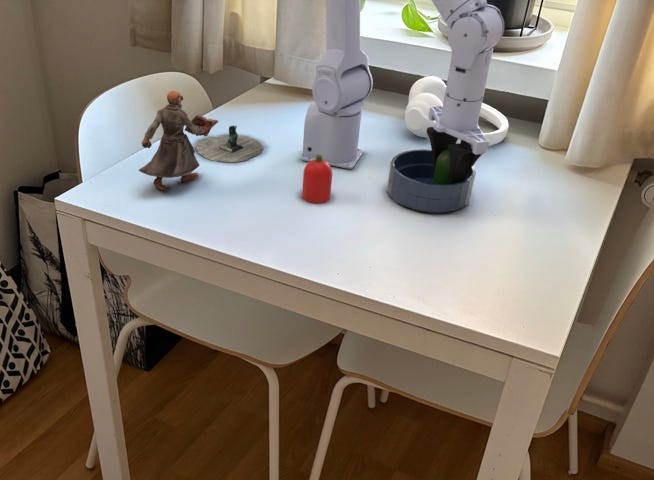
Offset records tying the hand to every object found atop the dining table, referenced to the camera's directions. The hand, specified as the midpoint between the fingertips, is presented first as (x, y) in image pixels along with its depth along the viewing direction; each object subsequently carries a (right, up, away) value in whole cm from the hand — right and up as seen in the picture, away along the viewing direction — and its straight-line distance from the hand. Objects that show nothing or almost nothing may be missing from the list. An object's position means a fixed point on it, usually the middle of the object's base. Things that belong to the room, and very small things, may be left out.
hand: (447, 178), depth 121 cm
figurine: (-44, -1, +2) cm, 44 cm away
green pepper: (0, -1, +1) cm, 1 cm away
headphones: (+7, +15, +25) cm, 30 cm away
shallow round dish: (-3, -2, +3) cm, 4 cm away
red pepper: (-21, -3, 0) cm, 21 cm away
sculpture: (-37, +9, +14) cm, 40 cm away
